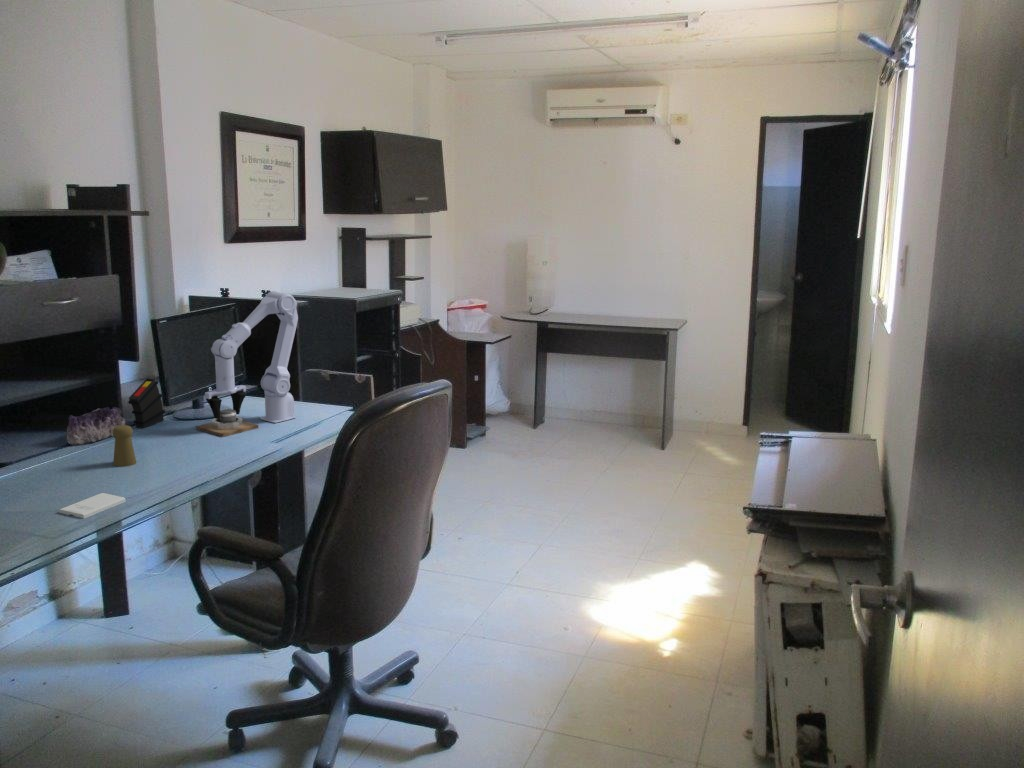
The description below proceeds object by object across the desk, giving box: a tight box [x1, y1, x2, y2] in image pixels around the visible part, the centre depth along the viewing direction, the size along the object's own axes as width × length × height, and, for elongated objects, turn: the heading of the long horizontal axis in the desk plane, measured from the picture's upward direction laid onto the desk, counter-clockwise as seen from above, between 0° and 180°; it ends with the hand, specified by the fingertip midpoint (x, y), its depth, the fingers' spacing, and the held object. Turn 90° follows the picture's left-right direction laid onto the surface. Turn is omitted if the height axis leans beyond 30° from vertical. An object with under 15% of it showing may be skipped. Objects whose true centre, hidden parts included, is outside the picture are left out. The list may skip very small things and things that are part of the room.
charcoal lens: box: [220, 408, 237, 423], centre depth 272 cm, size 5×5×5 cm
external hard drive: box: [58, 492, 127, 519], centre depth 203 cm, size 2×8×12 cm
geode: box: [66, 406, 127, 447], centre depth 258 cm, size 20×12×10 cm, turn 169°
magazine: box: [127, 378, 166, 429], centre depth 273 cm, size 4×13×15 cm, turn 168°
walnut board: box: [195, 420, 259, 438], centre depth 273 cm, size 14×14×1 cm
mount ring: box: [211, 415, 243, 430], centre depth 273 cm, size 9×9×2 cm
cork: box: [112, 424, 137, 468], centre depth 234 cm, size 6×6×11 cm
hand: (226, 416), depth 272 cm, fingers open, 7 cm apart
